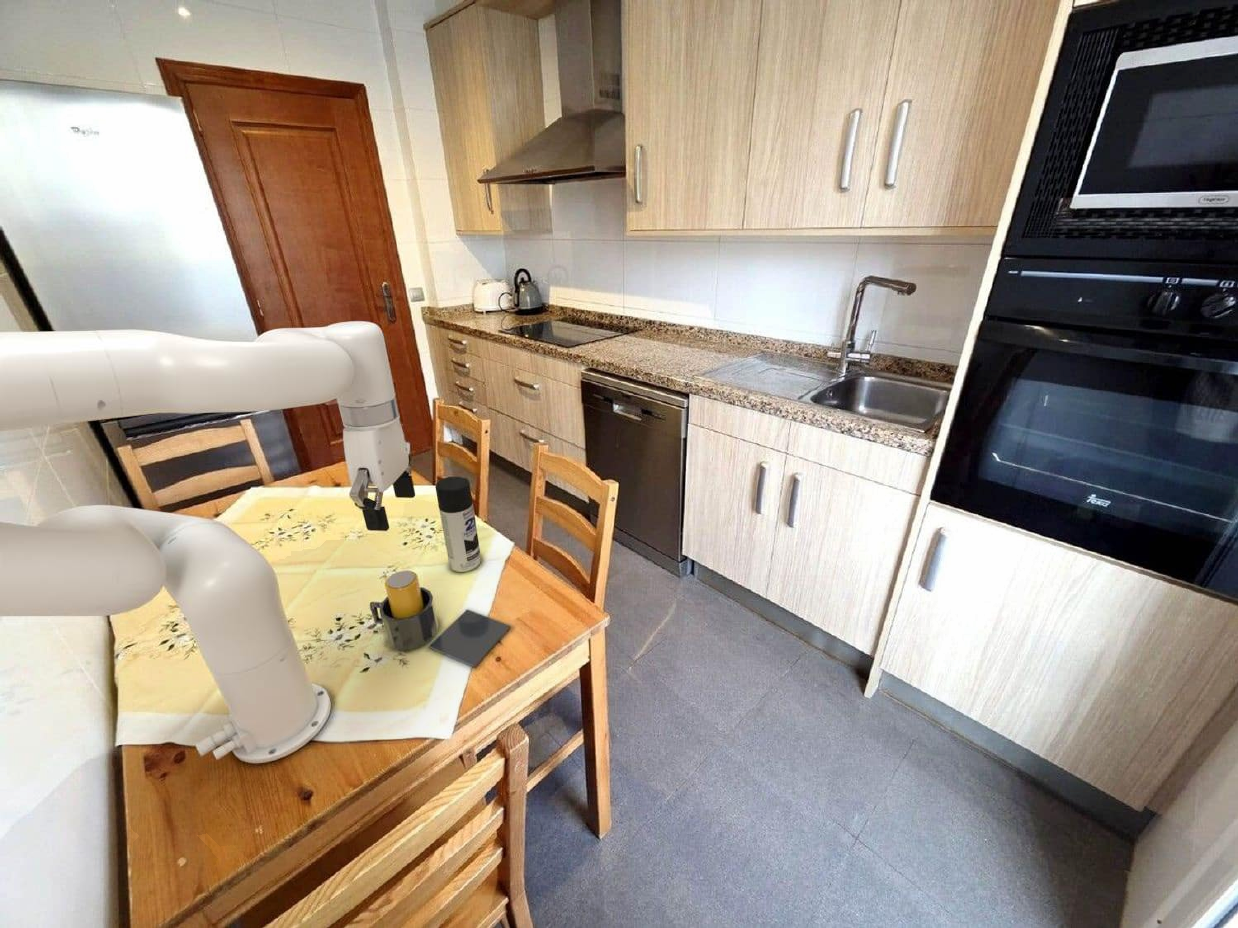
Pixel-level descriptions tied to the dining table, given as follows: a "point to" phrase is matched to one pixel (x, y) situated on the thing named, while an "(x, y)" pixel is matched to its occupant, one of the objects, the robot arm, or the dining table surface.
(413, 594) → the can
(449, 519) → the spray can
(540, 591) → the dining table surface
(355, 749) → the dining table surface
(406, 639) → the mug
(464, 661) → the coaster
